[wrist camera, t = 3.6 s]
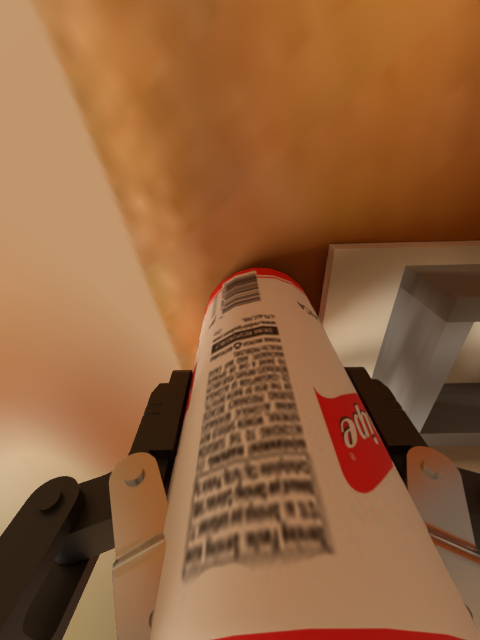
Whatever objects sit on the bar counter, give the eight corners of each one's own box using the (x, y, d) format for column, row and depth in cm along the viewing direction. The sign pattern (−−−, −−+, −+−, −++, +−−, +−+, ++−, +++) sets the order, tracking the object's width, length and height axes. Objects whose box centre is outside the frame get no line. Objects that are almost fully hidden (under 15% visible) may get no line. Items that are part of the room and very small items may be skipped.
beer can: (286, 243, 15) (881, 1209, 1) (318, 329, 18) (593, 897, 4) (188, 287, 16) (-85, 1001, 2) (232, 361, 19) (222, 876, 5)
